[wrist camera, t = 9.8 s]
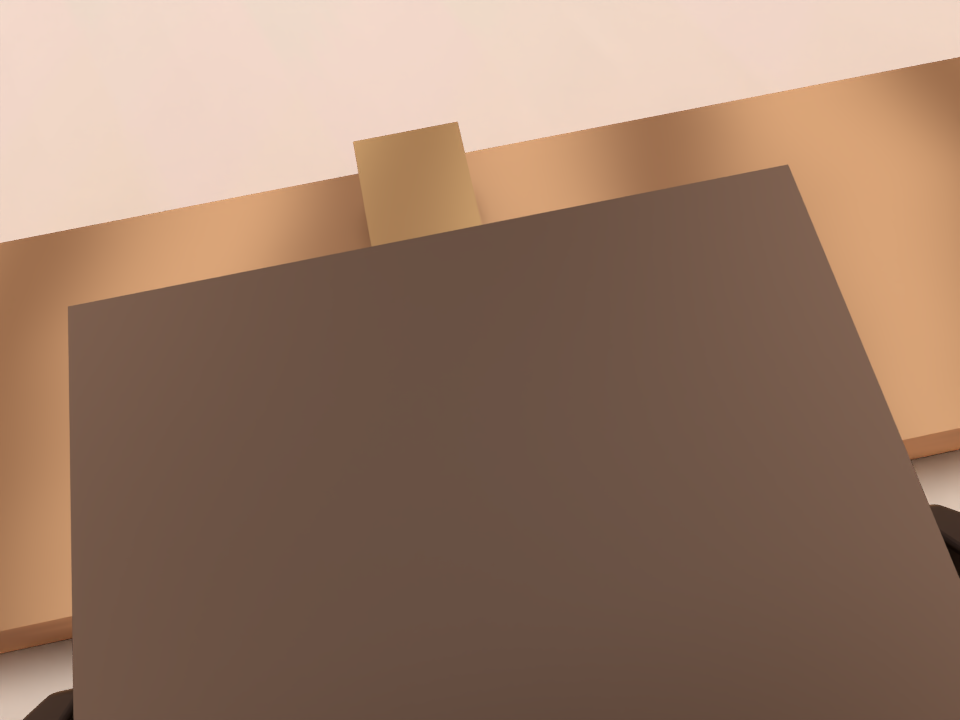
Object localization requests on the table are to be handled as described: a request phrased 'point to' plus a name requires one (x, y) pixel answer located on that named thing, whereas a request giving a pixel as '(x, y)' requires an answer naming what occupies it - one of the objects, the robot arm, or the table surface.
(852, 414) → the brown wooden block
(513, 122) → the table surface
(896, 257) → the oak board
